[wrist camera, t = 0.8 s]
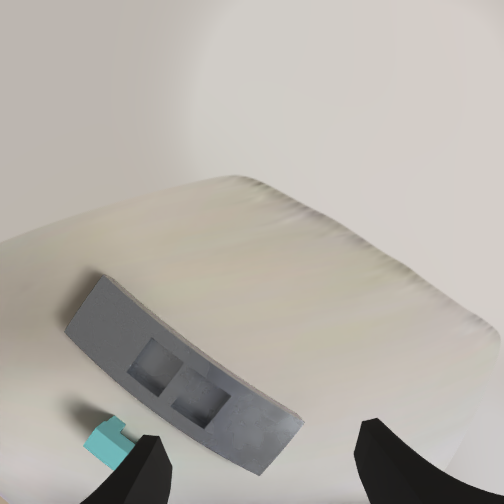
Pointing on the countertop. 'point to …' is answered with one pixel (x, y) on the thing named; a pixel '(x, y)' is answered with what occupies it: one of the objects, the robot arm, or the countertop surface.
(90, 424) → the countertop surface
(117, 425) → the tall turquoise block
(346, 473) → the countertop surface
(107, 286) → the rail
